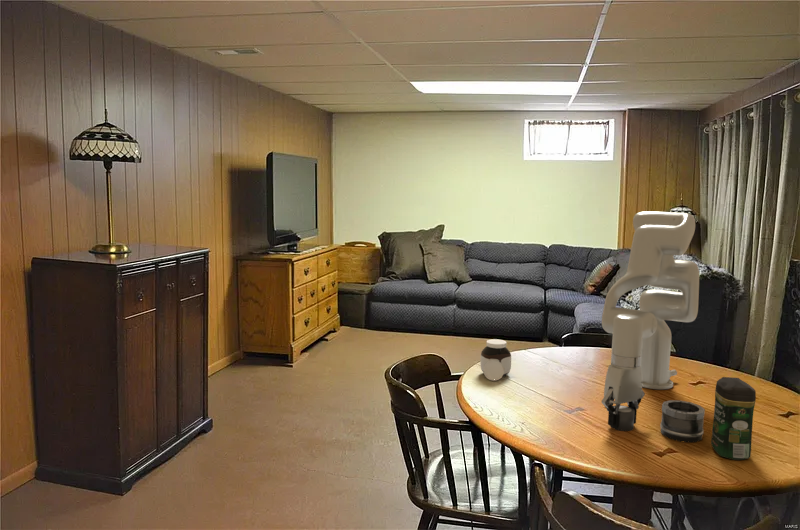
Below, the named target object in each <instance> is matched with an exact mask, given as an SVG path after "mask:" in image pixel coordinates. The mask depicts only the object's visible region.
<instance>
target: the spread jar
mask: <svg viewBox="0 0 800 530" xmlns="http://www.w3.org/2000/svg"><path fill="white" fill-rule="evenodd" d="M479 362H480V369H481V371H482V372H483V374H484V377H486V379H488V380H489V381H494V382H495V381H498V380H501V378H504V377H506V376H507V375H508V374H509V373H510V372H511V369H512V353H511V352H510V350H509V349H508V348H507V341H505V340H503V339H497V338H493V339H488V340H486V346H484V348H483V349H482V351H481V352H480V361H479ZM503 376H504V377H503ZM494 379H495V380H494Z"/></svg>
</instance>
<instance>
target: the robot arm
mask: <svg viewBox="0 0 800 530" xmlns="http://www.w3.org/2000/svg"><path fill="white" fill-rule="evenodd" d="M632 219H633V220H632V226H633V229H634V233H633V236H632V243H631V246H630V247H631V248H630V252H629V258H628V259H629V260H628V265H627V270H626V272H625V274H624V275H623V276H622V277H620V278H619V279H618V280H617V281H615V282H614V283H613V285H612V286H611V287H610V289H608V292H607V293H606V297H605V299H604V305H603V310H602V316H601V327H602V328H603V330H604V331H605V333H608V334H612V338H611V339H612V341H611V357H610V358H611V359H610V364H609V365H608V368H607V371H606V375H605V379H604V380H605V381H604V389H603V398H602V400H601V404H602V405H603V406H604V408H605V409H606V411H607V413H608V415H607V417H608V418H607V425H608V426H609V427H611V426H612V427H614V428H618V427H619V414H617V413H618V410H619V407H620V405H622V404H625V403H627V406H628V407H631V408H633V409H634V410H635V413H634V425H635V424H637V415H638V414H637V411H638V409H639V407H640V406H639V405H640V403H642V400H643V398H644V397H645V394H646V393H645V391H644V390H643V388H645V389H650V390H669V389H672V388H673V387H674V382H673V380H671V377H673V376H677V375H678V371H677V370H676V369H671V370H670V361H671V348H672V347H671V346H672V331H671V329H670V327H669V326H668V323H666V321H673V322H681V323H692V322H694V321H696V318H697V317H698V313H699V296H700V295H699V294H700V269H699V266H698V265H697V263H695V262H694V261H692V260H687V259H675V257H674V256H682V255H684V254H685V253H686V252H687V250H688V248H689V246H690V244H691V241H692V239H693V237H694V234H695V230H696V220H695V217H694V216H693V215H692V214H691V213H688V212H677V211H676V212H675V211H674V212H673V211H655V210H654V211H650V210H649V211H647V210H646V211H640V212H637V213H635V214H634V216H633V218H632ZM644 286H649V287H652V288H653V289H648V290H647V289H646V290H645V291H643V292H642V293H641V295H640V296H639V301H638V302H639V303H638V304H639V309H632V308H625V307H617V304H618V301H619V299H620V298H621V297H622V296H623V295H625V294H626V293H628V292H630V291H633V290H636V289H638V288H641V287H644ZM655 288H657V289H655ZM613 406H615V408H614V407H613ZM612 427H611V428H612Z"/></svg>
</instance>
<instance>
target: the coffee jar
mask: <svg viewBox="0 0 800 530" xmlns="http://www.w3.org/2000/svg"><path fill="white" fill-rule="evenodd" d="M714 390H715V391H714V392H715V393H714V411H713V419H712V420H713V422H712V431H711V439H710V440H711V441H710V445H711V448H713V450H714V451H715V452H716V453H717V454H718V455H719V456H720V457H722V458H726V459H730V460H734V461H742V460H743V461H744V460H748V459H750V458H751V456H752V455H751V454H752V452H751V451H752V439H753V438H752V436H753V423H754V411H755V406H756V400H757V399H756V398H757V395H756V394H757V393H756V389H755V388H754V387H752V386H751V385H750V384H749V383H748V382H746V381H744V380H742V379H740V378H739V377H730V376H728V377H727V376H723V377H721V378H719V379H717V381H716V383H715V389H714Z"/></svg>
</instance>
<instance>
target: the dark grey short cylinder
mask: <svg viewBox="0 0 800 530" xmlns="http://www.w3.org/2000/svg"><path fill="white" fill-rule="evenodd" d="M613 407H614V408H615V405H613ZM634 413H635V410H634V409H633V408H631V407H628V405H622V404H620V407H619V410H618V413H617V414H619V427H618V428H614V427H612V426H610V428H612V429H613V430H616V431H620V432H631V431H633V430H634V425H635V424H634Z"/></svg>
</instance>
